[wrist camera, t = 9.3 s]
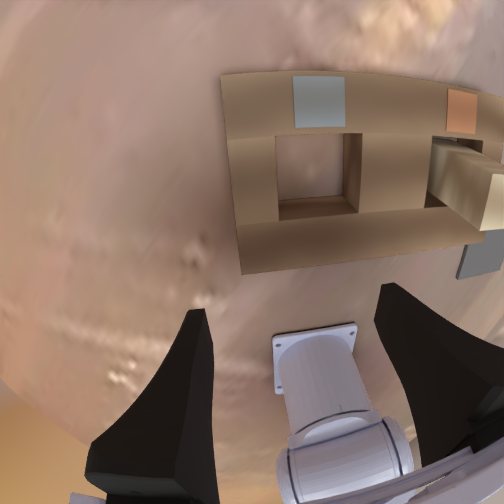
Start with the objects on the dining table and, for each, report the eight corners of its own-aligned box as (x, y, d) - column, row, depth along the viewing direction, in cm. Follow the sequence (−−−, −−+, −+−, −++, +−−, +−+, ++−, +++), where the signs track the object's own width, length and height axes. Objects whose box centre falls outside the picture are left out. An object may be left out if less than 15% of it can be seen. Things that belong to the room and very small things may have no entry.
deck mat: (497, 267, 27) (499, 269, 26) (455, 277, 27) (457, 280, 26) (514, 211, 23) (517, 213, 23) (473, 214, 23) (475, 216, 22)
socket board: (463, 225, 23) (483, 242, 21) (238, 250, 23) (241, 275, 20) (481, 92, 17) (507, 99, 14) (220, 76, 16) (219, 75, 14)
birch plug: (445, 180, 21) (512, 227, 14) (412, 180, 21) (479, 230, 14) (450, 139, 19) (524, 176, 12) (416, 136, 19) (492, 173, 12)
